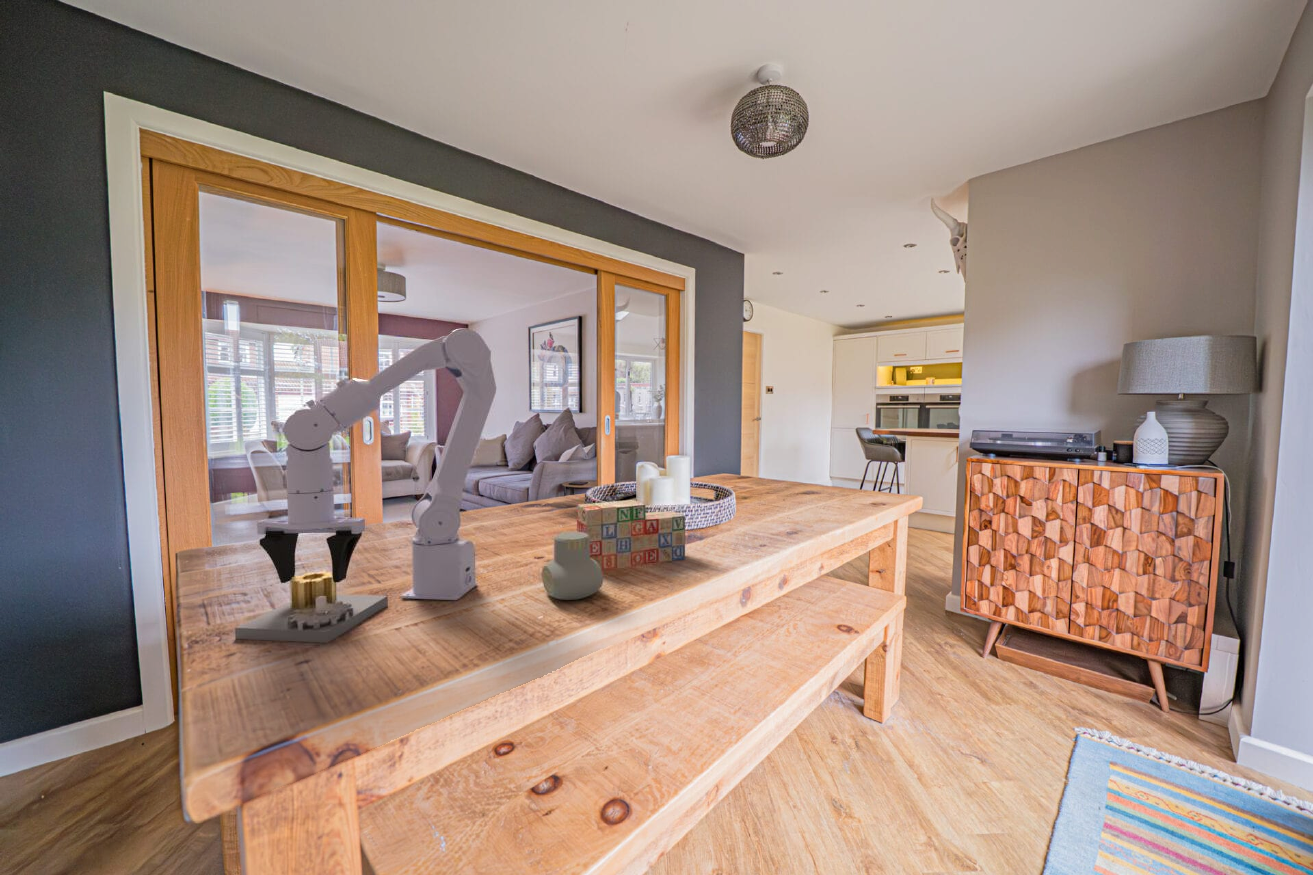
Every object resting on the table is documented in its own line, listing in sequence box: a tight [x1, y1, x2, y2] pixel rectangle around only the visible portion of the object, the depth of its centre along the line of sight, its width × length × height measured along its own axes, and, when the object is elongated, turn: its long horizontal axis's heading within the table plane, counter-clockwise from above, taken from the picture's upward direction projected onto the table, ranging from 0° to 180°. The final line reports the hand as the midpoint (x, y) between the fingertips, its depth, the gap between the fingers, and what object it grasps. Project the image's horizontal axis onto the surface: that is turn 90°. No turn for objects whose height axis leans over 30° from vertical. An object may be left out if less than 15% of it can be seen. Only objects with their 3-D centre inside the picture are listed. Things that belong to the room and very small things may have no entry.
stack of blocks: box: [576, 499, 686, 571], centre depth 103 cm, size 21×6×12 cm, turn 115°
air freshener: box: [541, 531, 604, 601], centre depth 85 cm, size 11×8×10 cm
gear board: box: [234, 593, 389, 644], centre depth 73 cm, size 13×13×4 cm
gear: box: [287, 601, 353, 631], centre depth 70 cm, size 8×8×1 cm
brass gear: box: [289, 570, 337, 610], centre depth 76 cm, size 6×6×4 cm
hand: (313, 580), depth 76 cm, fingers open, 7 cm apart
